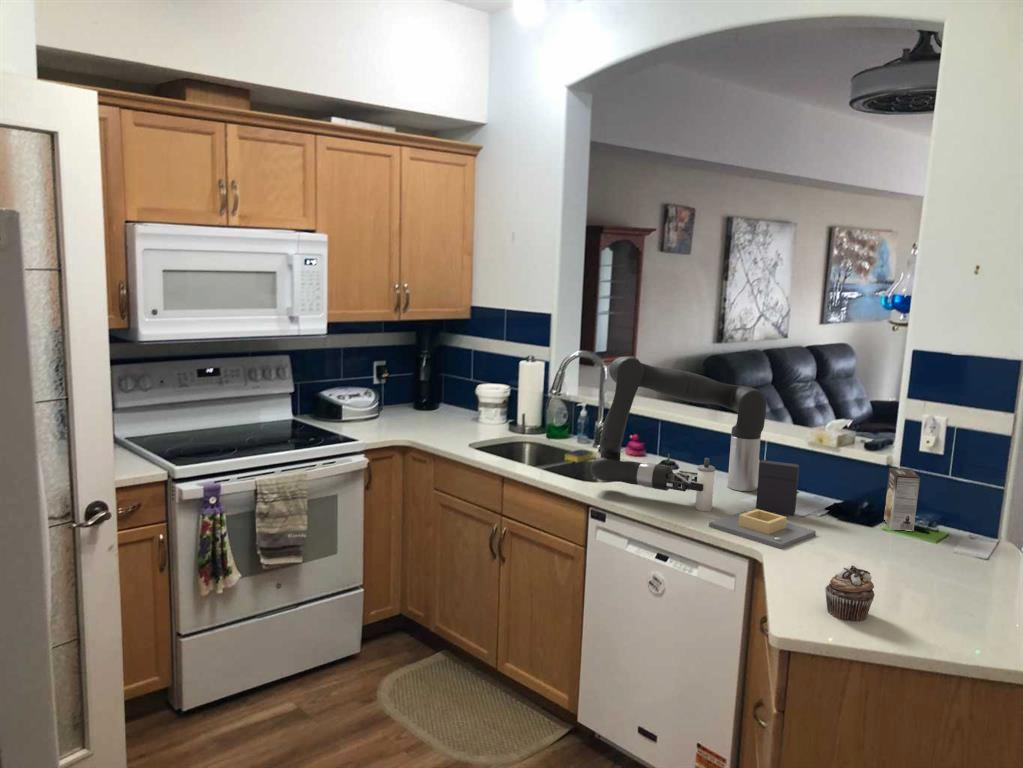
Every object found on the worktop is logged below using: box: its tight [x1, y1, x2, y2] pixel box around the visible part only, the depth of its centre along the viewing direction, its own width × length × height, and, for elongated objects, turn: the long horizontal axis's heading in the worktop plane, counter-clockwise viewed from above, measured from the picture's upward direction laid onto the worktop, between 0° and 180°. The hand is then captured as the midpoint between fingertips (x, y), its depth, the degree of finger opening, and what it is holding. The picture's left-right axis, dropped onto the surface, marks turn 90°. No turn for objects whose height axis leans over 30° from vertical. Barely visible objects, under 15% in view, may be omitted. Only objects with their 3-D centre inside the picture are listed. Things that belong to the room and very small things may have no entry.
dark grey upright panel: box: [755, 459, 800, 517], centre depth 243 cm, size 11×4×15 cm, turn 65°
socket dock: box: [708, 508, 817, 550], centre depth 227 cm, size 18×22×4 cm
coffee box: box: [883, 467, 921, 531], centre depth 233 cm, size 9×6×16 cm
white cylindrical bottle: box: [694, 457, 716, 512], centre depth 244 cm, size 5×5×15 cm
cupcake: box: [824, 565, 875, 622], centre depth 174 cm, size 10×10×10 cm
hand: (707, 484), depth 244 cm, fingers open, 8 cm apart
